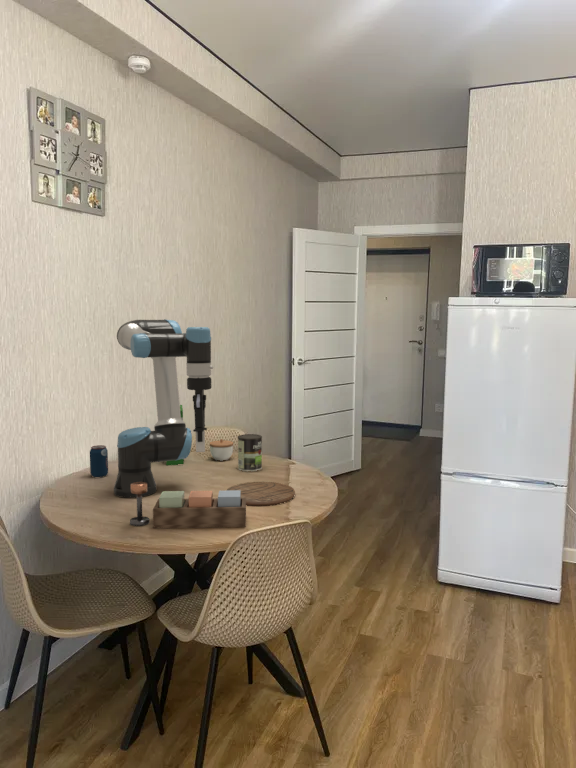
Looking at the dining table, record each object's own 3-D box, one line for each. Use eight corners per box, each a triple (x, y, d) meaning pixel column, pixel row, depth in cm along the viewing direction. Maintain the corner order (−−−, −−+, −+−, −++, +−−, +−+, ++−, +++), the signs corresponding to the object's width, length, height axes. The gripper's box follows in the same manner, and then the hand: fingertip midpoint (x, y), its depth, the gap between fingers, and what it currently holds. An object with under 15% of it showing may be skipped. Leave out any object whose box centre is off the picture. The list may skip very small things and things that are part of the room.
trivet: (309, 496, 208) (309, 491, 207) (256, 512, 191) (256, 506, 190) (264, 482, 226) (264, 477, 226) (212, 495, 209) (212, 490, 209)
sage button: (159, 510, 176) (159, 497, 175) (163, 503, 182) (162, 491, 182) (181, 510, 176) (181, 497, 176) (184, 503, 183) (184, 491, 182)
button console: (153, 528, 174) (152, 509, 174) (158, 517, 184) (158, 499, 184) (245, 526, 176) (245, 507, 175) (246, 515, 186) (245, 497, 185)
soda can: (111, 475, 233) (110, 446, 232) (95, 479, 228) (94, 449, 227) (103, 472, 238) (102, 444, 237) (87, 475, 233) (86, 446, 232)
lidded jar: (232, 462, 256) (232, 441, 255) (208, 462, 256) (208, 441, 255) (234, 456, 267) (234, 436, 266) (211, 456, 267) (211, 436, 266)
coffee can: (266, 467, 248) (266, 435, 246) (253, 472, 239) (253, 439, 237) (246, 464, 253) (246, 433, 251) (233, 469, 244) (233, 437, 242)
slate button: (218, 509, 177) (217, 497, 176) (219, 502, 183) (219, 490, 183) (240, 509, 177) (240, 496, 177) (240, 502, 184) (240, 490, 183)
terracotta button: (188, 510, 176) (188, 497, 176) (191, 503, 183) (191, 490, 182) (211, 509, 177) (211, 497, 176) (212, 502, 183) (212, 490, 183)
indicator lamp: (128, 526, 176) (127, 487, 175) (132, 519, 182) (131, 481, 181) (147, 526, 176) (147, 486, 175) (151, 519, 182) (150, 481, 181)
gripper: (209, 378, 172) (211, 455, 174) (212, 375, 185) (213, 447, 187) (184, 378, 172) (186, 456, 174) (189, 375, 185) (190, 447, 187)
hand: (200, 451), depth 181 cm, fingers closed
